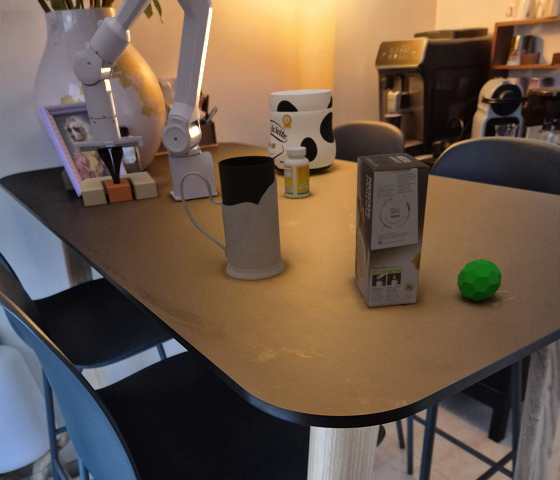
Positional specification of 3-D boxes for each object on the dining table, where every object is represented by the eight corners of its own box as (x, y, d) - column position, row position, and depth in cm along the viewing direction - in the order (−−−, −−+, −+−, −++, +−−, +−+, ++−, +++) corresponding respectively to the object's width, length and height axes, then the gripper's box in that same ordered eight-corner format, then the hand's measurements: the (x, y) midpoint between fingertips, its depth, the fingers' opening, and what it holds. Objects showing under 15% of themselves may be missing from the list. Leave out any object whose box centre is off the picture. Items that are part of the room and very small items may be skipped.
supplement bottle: (282, 198, 110) (280, 150, 105) (287, 192, 114) (285, 146, 109) (307, 198, 109) (306, 150, 104) (311, 192, 113) (310, 145, 108)
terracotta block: (129, 192, 123) (126, 178, 121) (132, 199, 116) (129, 185, 115) (107, 195, 121) (104, 181, 120) (110, 202, 115) (106, 188, 113)
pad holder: (149, 185, 128) (146, 171, 127) (157, 196, 117) (155, 182, 115) (82, 193, 124) (79, 179, 122) (85, 206, 113) (81, 191, 111)
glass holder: (278, 280, 72) (272, 167, 64) (182, 278, 74) (164, 169, 66) (288, 258, 79) (284, 154, 71) (200, 257, 81) (186, 156, 73)
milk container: (256, 174, 132) (250, 95, 123) (293, 161, 144) (290, 88, 134) (313, 180, 124) (312, 95, 114) (347, 166, 135) (349, 88, 126)
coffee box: (418, 303, 63) (432, 165, 54) (367, 308, 63) (373, 170, 54) (397, 276, 71) (407, 151, 62) (352, 279, 71) (355, 155, 62)
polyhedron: (504, 305, 62) (512, 267, 59) (464, 308, 61) (470, 270, 59) (487, 288, 66) (493, 252, 63) (449, 291, 66) (454, 255, 63)
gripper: (67, 122, 105) (84, 191, 112) (139, 116, 109) (151, 182, 116) (67, 119, 110) (83, 184, 118) (135, 113, 114) (147, 177, 121)
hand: (116, 183), depth 117 cm, fingers closed, pressing on terracotta block
